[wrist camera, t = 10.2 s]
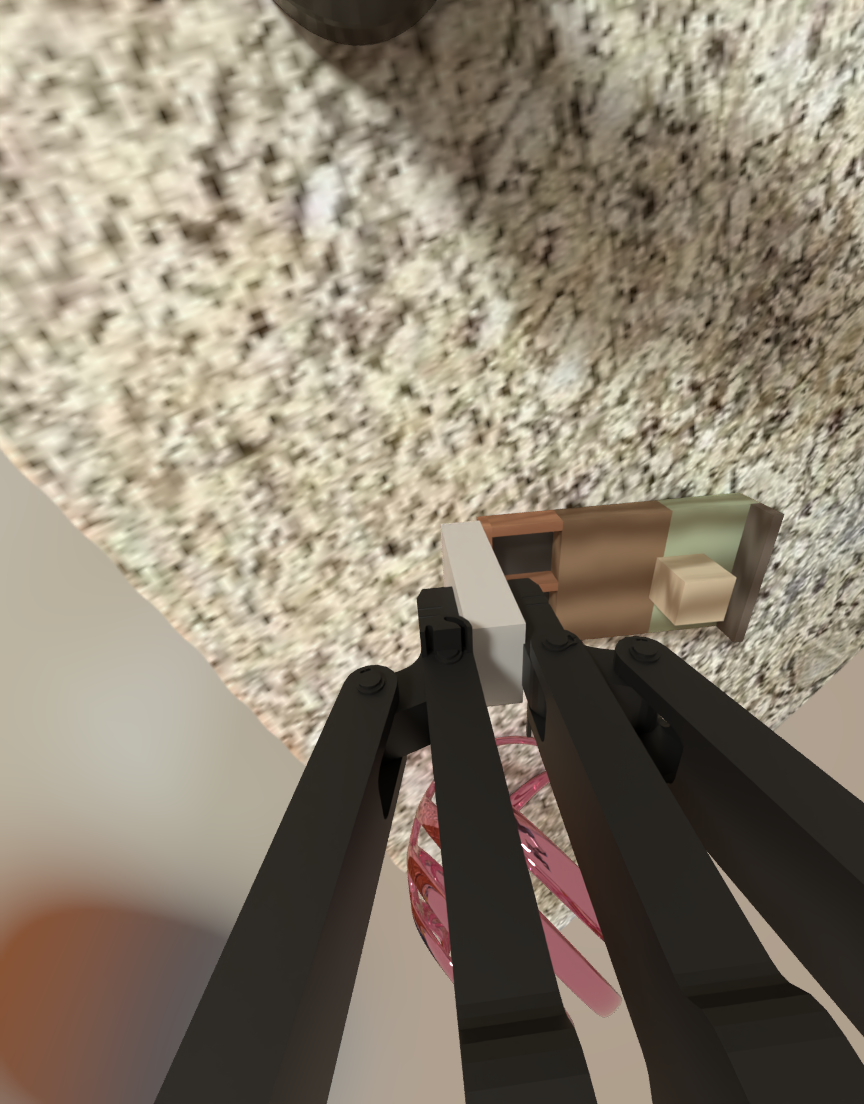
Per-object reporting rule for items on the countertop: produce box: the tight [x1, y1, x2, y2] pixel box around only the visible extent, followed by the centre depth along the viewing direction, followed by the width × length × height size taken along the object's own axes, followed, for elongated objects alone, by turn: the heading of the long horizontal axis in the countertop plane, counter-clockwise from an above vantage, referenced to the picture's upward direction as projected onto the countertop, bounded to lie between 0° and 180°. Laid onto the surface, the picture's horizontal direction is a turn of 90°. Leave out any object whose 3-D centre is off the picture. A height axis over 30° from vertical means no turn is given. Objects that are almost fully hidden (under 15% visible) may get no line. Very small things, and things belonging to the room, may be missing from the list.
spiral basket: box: [407, 736, 622, 1028], centre depth 53 cm, size 28×28×27 cm
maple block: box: [649, 553, 736, 626], centre depth 45 cm, size 5×5×5 cm
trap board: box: [477, 493, 784, 642], centre depth 47 cm, size 15×28×6 cm, turn 94°
